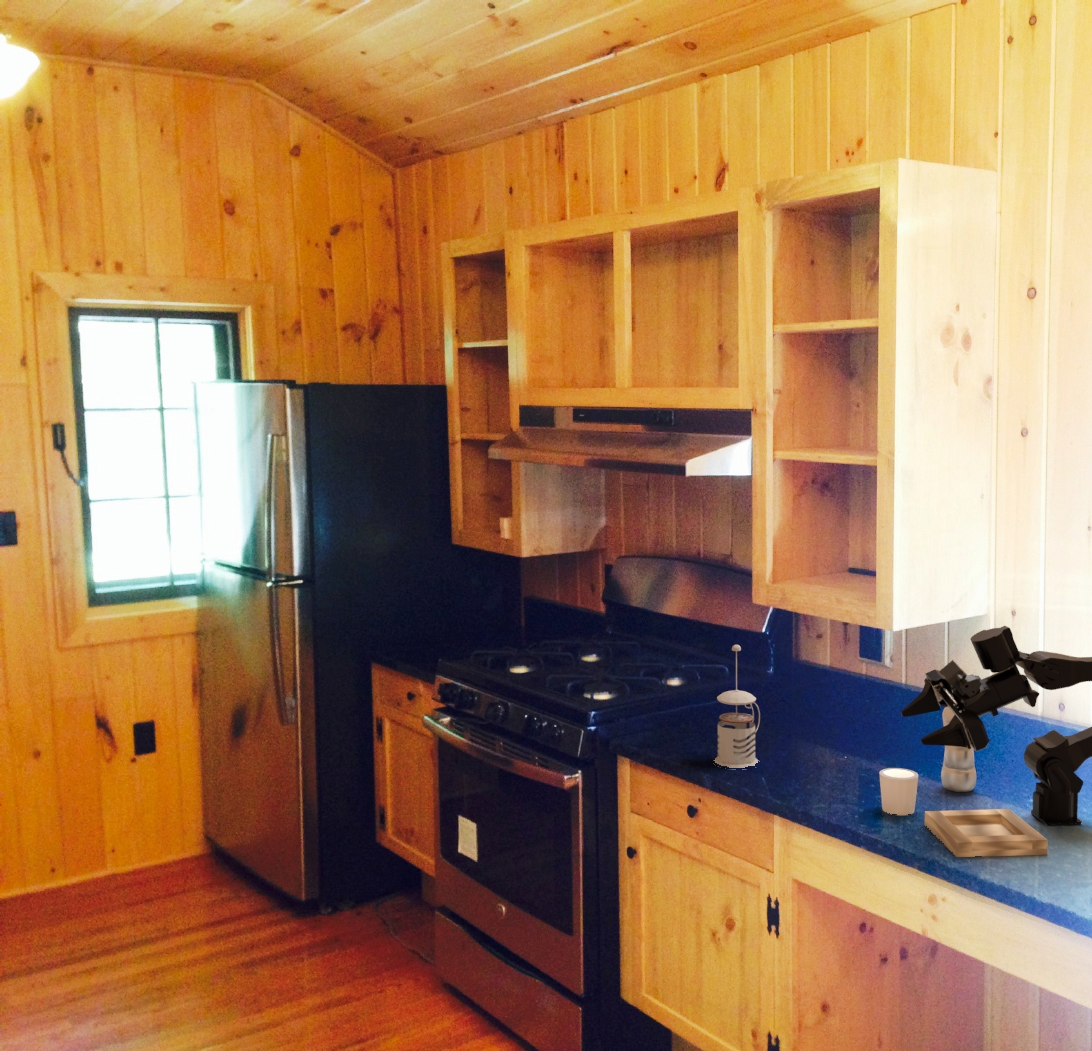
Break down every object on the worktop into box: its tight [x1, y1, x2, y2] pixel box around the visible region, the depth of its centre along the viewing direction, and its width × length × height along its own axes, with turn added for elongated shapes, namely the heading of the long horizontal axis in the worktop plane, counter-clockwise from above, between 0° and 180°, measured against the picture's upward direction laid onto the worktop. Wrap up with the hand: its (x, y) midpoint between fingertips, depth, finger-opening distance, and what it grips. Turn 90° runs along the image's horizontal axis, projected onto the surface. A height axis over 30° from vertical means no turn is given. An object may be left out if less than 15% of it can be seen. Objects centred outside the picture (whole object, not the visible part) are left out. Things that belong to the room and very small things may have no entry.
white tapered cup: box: [878, 767, 919, 816], centre depth 215 cm, size 7×7×7 cm
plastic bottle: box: [940, 691, 977, 793], centre depth 225 cm, size 6×7×20 cm
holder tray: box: [924, 808, 1049, 858], centre depth 200 cm, size 15×15×2 cm
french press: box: [713, 644, 761, 768], centre depth 245 cm, size 10×12×25 cm
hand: (911, 727), depth 209 cm, fingers open, 9 cm apart
